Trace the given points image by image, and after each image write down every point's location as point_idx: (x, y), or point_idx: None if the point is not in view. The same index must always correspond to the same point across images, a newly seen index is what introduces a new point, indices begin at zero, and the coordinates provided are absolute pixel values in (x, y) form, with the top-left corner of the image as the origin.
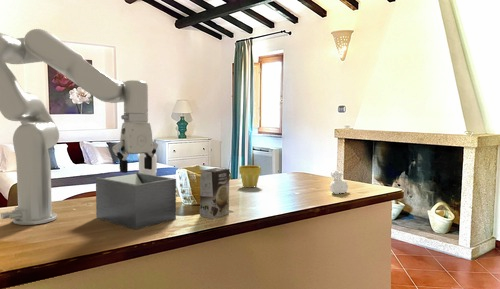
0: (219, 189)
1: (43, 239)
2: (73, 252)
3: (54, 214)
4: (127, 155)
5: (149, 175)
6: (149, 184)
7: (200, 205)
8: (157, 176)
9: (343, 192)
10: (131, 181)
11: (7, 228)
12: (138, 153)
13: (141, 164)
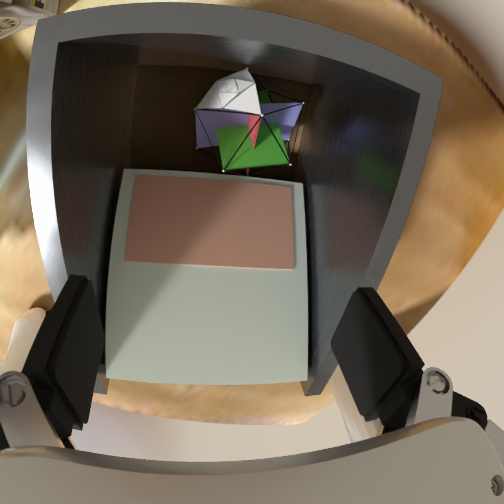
0: None
1: (450, 229)
2: (485, 116)
3: None
4: (423, 417)
5: None
6: (337, 32)
7: (35, 7)
8: (51, 219)
9: None
10: (160, 336)
11: (406, 332)
12: (335, 449)
13: None
